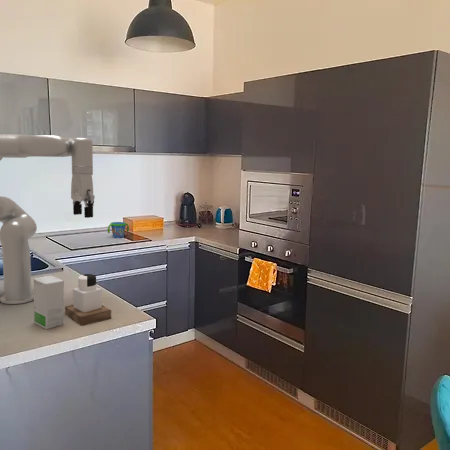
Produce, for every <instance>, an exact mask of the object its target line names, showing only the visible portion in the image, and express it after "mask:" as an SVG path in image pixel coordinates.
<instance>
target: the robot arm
mask: <svg viewBox="0 0 450 450" xmlns="http://www.w3.org/2000/svg"><path fill="white" fill-rule="evenodd" d="M93 150H94V149H93V140H92V139H91V138H89V137H74V138H73V137H66V136H60V135H51V134H50V135H45V134H44V135H38V134H37V135H34V134H31V135H30V134H24V133H23V134H22V133H21V134H18V133H16V134H13V133H12V134H9V133H6V134H3V133H0V161H1V160H2V159H4V158H5V159H6V158H9V159H11V158H14V159H17V158H20V159H21V158H22V159H25V158H26V159H27V158H30V157H31V158H33V157H46V158H47V157H48V158H52V157H53V158H56V157H57V158H58V157H59V158H64V157H71V175H72V176H71V184H70V185H71V186H70V199H71V200H72V209H73V211H72V213H73V215H74V216H76V215H82V214H83V207H84V218H87V219H88V218H94V207H95V205H94V204H95V194H94V183H93V182H94V181H93V175H94V173H93V172H94V169H93V168H94V161H93V159H94V158H93V155H94V153H93V152H94V151H93ZM82 202H83V203H84V204H82ZM83 205H84V206H83ZM82 206H83V207H82ZM0 223H1V224H2V226H0V245H1V253H2V266H3V267H2V268H3V270H2V271H3V272H2V273H3V289H4V291H3V292H4V294H2V296H0V303H2V304H6V305H19V304H25V303H30V302H32V301H34V291H33V292H32V265H31V264H32V263H31V251H30V245H29V239H31V238H32V237H34V236H35V234H36V232H37V228H38V227H37V223H36V221H35V219H34V218H33V217H32V216H31V215H29V214H28V213H27V212H26V211H25V210H24V209H23V208H22V207H21V206H19V205H18V204H17V202H16V201H14V200H13V199H12V198H9V197H6V196H0Z"/></svg>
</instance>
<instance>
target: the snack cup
mask: <svg viewBox="0 0 450 450" xmlns="http://www.w3.org/2000/svg"><path fill="white" fill-rule="evenodd" d="M129 227H130V226H129V224H128V223H127V222H123V221H114V222H113V221H111V222H110V224H109V225H108V226H107V234H110V233H112V237H113V238H115V239H120V238H124V237H125V231H126V232H130V228H129ZM110 229H111V230H110Z"/></svg>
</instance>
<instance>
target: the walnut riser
mask: <svg viewBox="0 0 450 450" xmlns="http://www.w3.org/2000/svg"><path fill="white" fill-rule="evenodd" d="M64 310H65V312H64V316H67V317H68V318H70V319H71V320H72V321H74V322H75V323H76V324H78V325H80V326H85V325H88V324H89V323H90V324H94V323H97V321H98V322H101V321H106V320H109V319H112V310H111V309H110V308H109V307H106V306H104V305H103V304H102V308H100V309H97V310H93V311H89V312H85V313H83V312H81V311H79V310H77V309H75V308H74V307H73V304H70V305H66V306H64ZM105 319H106V320H105ZM93 322H94V323H93Z"/></svg>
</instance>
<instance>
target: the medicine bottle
mask: <svg viewBox="0 0 450 450" xmlns="http://www.w3.org/2000/svg"><path fill="white" fill-rule="evenodd" d="M72 293H73V294H72V300H73V301H72V303H73V304H72V305H73V307H74V308H75V309H77V310H79V311H81V312H83V313H85V312H89V311H93V310H97V309H100V308H102V305H103V304H102V303H103V301H102V300H103V297H102V296H103V295H102V294H103V293H102V288H100V287H97V276H96V275H95V274H92V273H84V274H80V275H79V276H78V278H77V287H75V288H73V289H72Z"/></svg>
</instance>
